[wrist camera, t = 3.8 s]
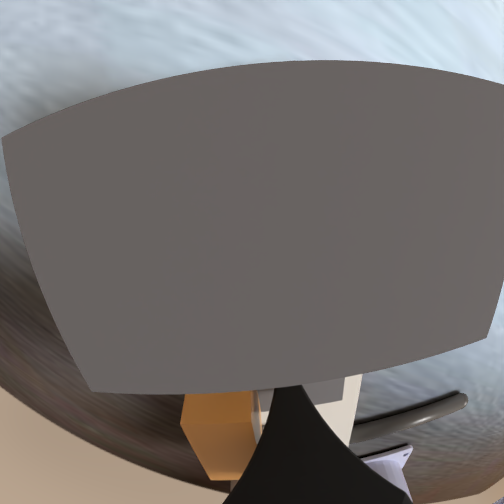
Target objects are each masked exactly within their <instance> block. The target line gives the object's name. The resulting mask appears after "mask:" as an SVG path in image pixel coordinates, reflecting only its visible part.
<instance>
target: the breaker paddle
mask: <svg viewBox="0 0 504 504" xmlns="http://www.w3.org/2000/svg"><path fill="white" fill-rule="evenodd" d="M180 425H181V427H182V429H183V431H184V433H185V435H186V437H187V439H188V441H189V442H190V444H191V446H192V448H193V450H194V452H195V454H196V455H197V457H198V459H199V461H200V463H201V464H202V466H203V468H204V470H205V471H206V473H207V475H208V476H209V478H210V480H239V479H240V477H241V476H242V474H243V472H244V471H245V469H246V467H247V465H248V463H249V461H250V459H251V457H252V455H253V453H254V451H255V449H256V447H257V444H258V442H259V440H260V437H261V435H262V424H261V409H260V403H259V398H258V392H257V390H251V391H240V392H226V393H208V394H185V399H184V404H183V410H182V416H181V421H180Z"/></svg>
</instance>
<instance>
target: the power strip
mask: <svg viewBox="0 0 504 504" xmlns="http://www.w3.org/2000/svg"><path fill="white" fill-rule="evenodd" d="M361 379H362V374H359V375H354V376H349V377H344V378H339V379H333V380H328V381H322V382H315V383H309V384H302V386H303V388H304V389H305V391H306V393H307V395H308V396H309V398H310V400H311V401H312V403H313V404H314V406H315V407H316V409H317V410H318V412H319V413H320V415H321V416H322V418H323V419H324V420H325V422H326V423H327V424H328V425H329V427H330V428H331V429H332V430H333V432H334V433H335V434H336V435H337V436H338V437H339V438H340V440H341V441H342V442H343V443H344V444H345V445H346V446H347V447H348V445H349V444H354V443H358V442H362V441H366V440H370V439H374V438H378V437H382V436H385V435H389V434H393V433H396V432H399V431H403V430H406V429H409V428H412V427H415V426H418V425H421V424H424V423H427V422H430V421H432V420H435V419H438V418H440V417H443V416H446V415H448V414H451V413H453V412H455V411H458V410H460V409H463V408H464V407H465V406H466V405H467V403H468V397H467V395H466V394H464V393H459V394H457V395H454V396H451V397H449V398H446V399H443V400H441V401H438V402H435V403H432V404H429V405H427V406H424V407H421V408H417V409H414V410H411V411H408V412H405V413H401V414H398V415H394V416H391V417H387V418H383V419H380V420H376V421H372V422H368V423H363V424H359V425H355V426H353V423H354V418H355V413H356V407H357V402H358V397H359V391H360V385H361ZM257 392H258V398H259V403H260V409H261V424H262V432H263V429H264V426H265V423H266V420H267V417H268V414H269V410H270V406H271V402H272V398H273V393H274V388H271V389H262V390H257ZM237 482H238V480H231V488H230V492H231V491H232V489H233V488H234V487H235V485H236V484H237Z"/></svg>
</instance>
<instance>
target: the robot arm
mask: <svg viewBox="0 0 504 504" xmlns="http://www.w3.org/2000/svg"><path fill="white" fill-rule="evenodd" d="M412 450H413V447H412V445H407V446H404V447H401V448H398V449H394V450H391V451H388V452H384V453H381V454H377V455H373V456H369V457H365V458H361V459H360V458H359V457H357V456H356V455H355V454H354V453H353V452H352V451H351V450H350V449H349V448H348V447H347V446H346V445H345V444H344V443H343V442H342V441H341V440H340V438H339V437H338V436H337V435H336V434H335V433H334V432H333V430H332V429H331V428H330V427H329V425H328V424H327V423H326V422H325V420H324V419H323V418H322V416H321V415H320V413H319V412H318V410H317V409H316V407H315V406H314V404H313V403H312V401H311V400H310V398H309V396H308V395H307V393H306V391H305V389H304V388H303V386H302V385H295V386H288V387H280V388H274V393H273V398H272V402H271V406H270V410H269V414H268V417H267V420H266V423H265V426H264V429H263V432H262V435H261V437H260V440H259V442H258V444H257V447H256V449H255V451H254V453H253V455H252V457H251V459H250V461H249V463H248V465H247V467H246V469H245V471H244V472H243V474H242V476H241V477H240V479H239V480H238V482H237V484H236V485H235V487H234V488H233V489H232V491H231V492H230V494H229V495H228V497H227V498H226V500H225V501H224V502H223V504H413V502H412V499H411V496H410V493H409V490H408V487H407V484H406V481H405V478H404V475H403V473H402V470H401V469H402V468H403V466H404V464H405V462H406V461H407V459H408V457H409V455H410V454H411V452H412ZM493 504H504V497H503V498H501V499H499V500H498V501H496V502H495V503H493Z"/></svg>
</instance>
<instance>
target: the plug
mask: <svg viewBox="0 0 504 504" xmlns="http://www.w3.org/2000/svg"><path fill="white" fill-rule="evenodd" d="M2 146H3V153H4V159H5V165H6V171H7V176H8V181H9V186H10V190H11V195H12V199H13V203H14V208H15V211H16V215H17V219H18V223H19V226H20V230H21V233H22V237H23V240H24V243H25V246H26V249H27V253H28V256H29V259H30V261H31V264H32V267H33V270H34V273H35V275H36V278H37V281H38V283H39V286H40V288H41V291H42V293H43V296H44V298H45V301H46V303H47V306H48V308H49V310H50V312H51V315H52V317H53V319H54V321H55V323H56V326H57V328H58V330H59V332H60V334H61V336H62V338H63V340H64V342H65V344H66V346H67V348H68V350H69V352H70V354H71V356H72V358H73V360H74V361H75V363H76V365H77V367H78V369H79V370H80V372H81V374H82V376H83V377H84V379H85V381H86V383H87V384H88V386H89V388H90V389H91V391H92V392H106V393H123V394H208V393H226V392H240V391H251V390H262V389H271V388H280V387H288V386H295V385H302V384H309V383H315V382H322V381H328V380H333V379H339V378H344V377H349V376H354V375H359V374H364V373H369V372H373V371H377V370H382V369H386V368H390V367H394V366H398V365H402V364H406V363H410V362H413V361H417V360H421V359H424V358H428V357H431V356H434V355H438V354H441V353H444V352H447V351H450V350H453V349H456V348H459V347H462V346H465V345H468V344H471V343H474V342H477V341H479V340H482V339H485V338H486V337H487V335H488V332H489V329H490V326H491V323H492V320H493V316H494V313H495V310H496V306H497V303H498V299H499V296H500V292H501V288H502V284H503V280H504V85H503V84H499V83H495V82H492V81H488V80H484V79H480V78H476V77H472V76H468V75H463V74H458V73H453V72H448V71H443V70H437V69H431V68H424V67H417V66H410V65H401V64H392V63H380V62H366V61H340V60H311V61H285V62H270V63H258V64H248V65H240V66H232V67H224V68H217V69H211V70H205V71H199V72H193V73H188V74H183V75H178V76H173V77H169V78H164V79H160V80H156V81H152V82H148V83H144V84H140V85H136V86H132V87H129V88H125V89H122V90H118V91H115V92H112V93H109V94H106V95H102V96H99V97H96V98H93V99H90V100H88V101H85V102H82V103H79V104H76V105H74V106H71V107H68V108H66V109H63V110H61V111H58V112H56V113H53V114H51V115H49V116H46V117H44V118H42V119H39V120H37V121H35V122H33V123H31V124H28V125H26V126H24V127H22V128H20V129H18V130H16V131H14V132H12V133H10V134H8V135H6V136H4V137H2Z"/></svg>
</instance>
